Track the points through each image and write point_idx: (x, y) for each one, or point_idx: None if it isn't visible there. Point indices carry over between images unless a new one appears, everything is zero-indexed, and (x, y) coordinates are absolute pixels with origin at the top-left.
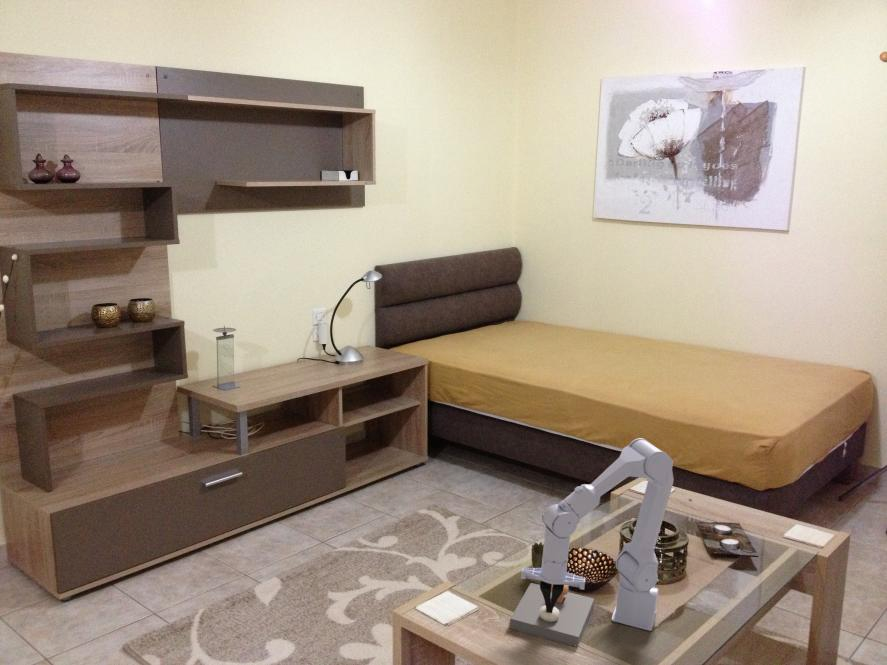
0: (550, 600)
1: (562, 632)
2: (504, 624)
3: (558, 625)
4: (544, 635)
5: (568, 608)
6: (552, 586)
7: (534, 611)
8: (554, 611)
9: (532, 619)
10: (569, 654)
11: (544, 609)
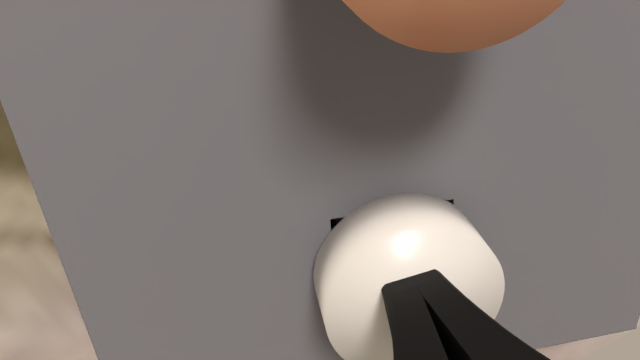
0: (433, 323)
1: None
2: (77, 350)
3: None
4: None
5: None
6: (377, 23)
7: (247, 250)
8: None
9: (281, 349)
10: (549, 355)
11: (368, 321)
